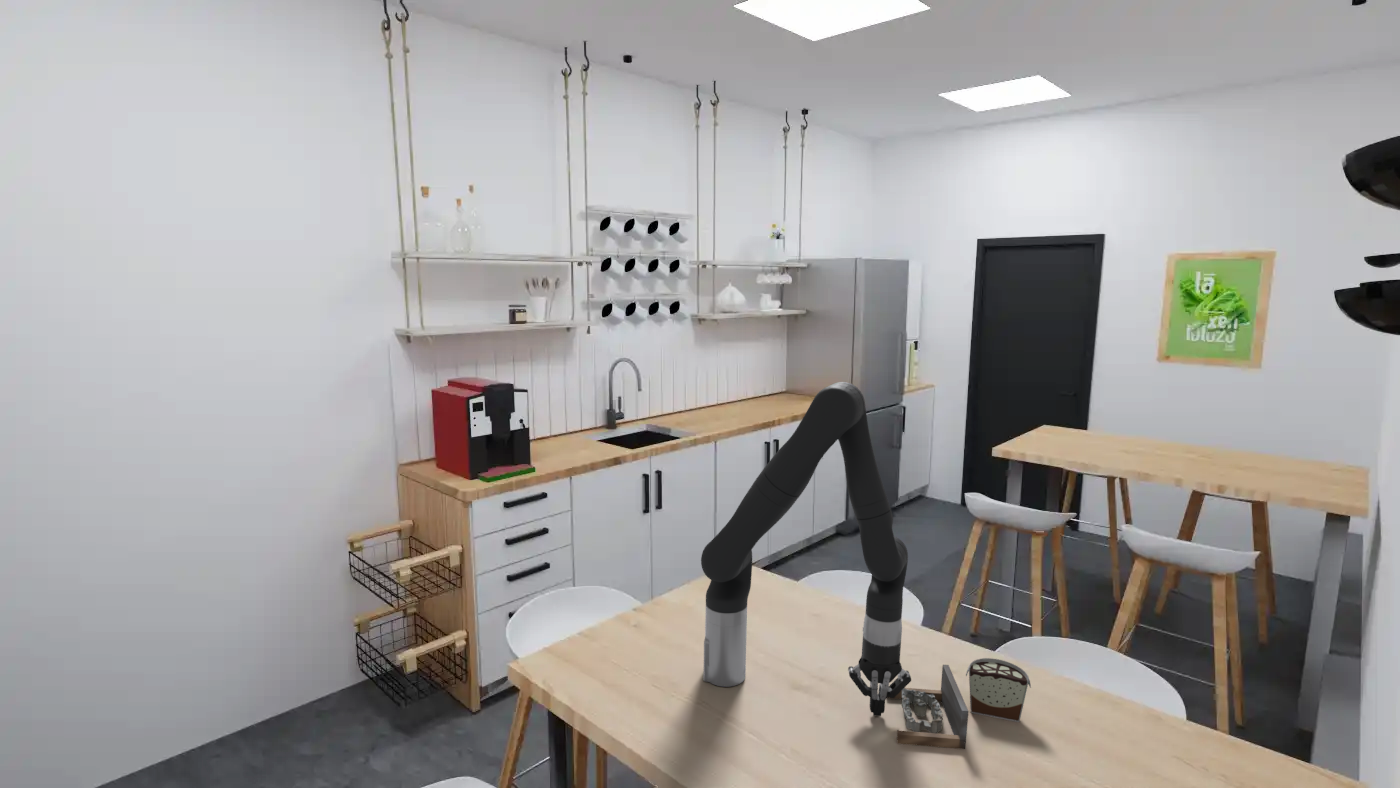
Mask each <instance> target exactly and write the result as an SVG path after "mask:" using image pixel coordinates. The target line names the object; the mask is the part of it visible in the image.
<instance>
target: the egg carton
mask: <svg viewBox="0 0 1400 788" xmlns="http://www.w3.org/2000/svg"><path fill="white" fill-rule="evenodd" d="M905 688H906V687H905ZM905 688H904V689H903V690H902V699H901V707H902V709H903V711H904V712H903V717H904V718H905V719H906V724H905V725H906V729H910V730H912V732H920V731H928V732H929V733H936V734H938V732H941V731H942V728H943V721H944V719H943V717H944V715H943V712H942V708H941V705H940V702H937V700H935V696H934V695H933V694H930V695H928V694H926V693H925V691H924V692H920V691H915V690H913V689H912V690H908V689H905ZM910 704H912V706H914V708H913V709H914V712H913V711H912V708H911V707H910V706H911V705H910ZM927 705H928V707H930V715H931V716H932V717H933V720H932V721H927V720H926V719H920V718H919V719H917V721H916V719H915V718H914V717H913V713H914V714H915V715H916V716H918V717H925V716H926V715H927Z"/></svg>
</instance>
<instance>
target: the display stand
mask: <svg viewBox="0 0 1400 788" xmlns="http://www.w3.org/2000/svg"><path fill="white" fill-rule="evenodd" d="M941 671H942V672H941V680H940V681H941V682H940V683H941V684H940V689H928V688H927V689H926V688H911V687H905V689H908V690H912V689H913V690H915V691H920V692H924V691H925V693H926V694H928V695H930V694H933V695H934V696H935V700H937V702H938V703H941V705H942V708H943V710H944V713H945V716H946V718H947V721H948V723H949V725H950V729H951V731H952V734H947V733H937V734H936V733H931V732H914V731H910V730H909V731H908V730H897V731H896V743H897V744H898V745H899V744H900V745H911V746H923V747H935V748H946V749H947V748H948V749H957V750H958V749H959V750H966V748H967V746H966V745H967V735H968V721H969V711H970V710H969V708H968V707H967V705H966V702H965V700H964V697H963V695H962V693H961V690H960V688H959V686H958V684H957V681H956V680H955V677H954V674H953V671H952V669H951V668H950V665H949V664H942V669H941ZM888 699H893V700H902V691H901V692H900V693H899V694H897V695H896V696H895V697H894V698H890V697H889V698H888Z"/></svg>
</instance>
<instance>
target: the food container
mask: <svg viewBox="0 0 1400 788" xmlns="http://www.w3.org/2000/svg"><path fill="white" fill-rule="evenodd" d="M967 676H969V677H968V678H969V679H968V681H969V704H970V706H969V709H970V710H969V711H970V713H971V714H975V715H981V716H987V717H991V718H995V719H996V718H997V719H1000V720H1005V721H1010V722H1016V723H1020V721H1021V717H1022V713H1023V709H1024V704H1025V699H1026V695H1027V689H1028V687H1029V689H1031V688H1032V687H1031V680H1030V678H1029V675H1028V673H1027V672H1026V671H1025V670H1024V669H1022V668H1021V667H1020V666H1018V665H1016V664H1014V663H1012V662H1010V661H1006V660H1003V659H998V658H993V657H991V658H990V657H983V658H977V659H975V660H972V662H971V663H970V664H969V665H968V667H967V669H966V673H965V677H967Z"/></svg>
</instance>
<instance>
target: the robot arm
mask: <svg viewBox="0 0 1400 788" xmlns="http://www.w3.org/2000/svg"><path fill="white" fill-rule="evenodd" d="M865 402H866V401H865V398H864V394H863V393H862V390H860V389H859V388H858V387H857V386H856V385H854V384H853V383H851V382H846V381H839V382H835V383H832V384H830V385H828V386H826V387H824V388H822V389H820V390H819V391H818V392H817V394H816V395H815V396H814V398H813V399H812V401H811V403H810V405H809V407H808V409H807V410H806V412H805V414H804V415H803V417H802V419H801V420H800V422H799V424H798V426H797V427H796V429H795V431H794V432H793V433H792V435H791V436H790V437H789V438H788V440H787V441H786V442H785V443H784V444H783V445H782V446H781V447H780V448H779V449H778V451H776V453H775V454H773V456H772V458H771V459H770V460H769V462H768V463H767V464H766V465H765V466H764V468H763V469H762V470H761V472H759V474H758V476H757V477H756V478H755V480H754V482H753V483H752V485H750V488H748V490H747V492H746V493H745V495H744V497H743V499H741V502H740V504H739V505H738V507H737V508H736V509H735V512H734V513H733V515H732V517H731V518H730V520H729V521H728V522H727V523H726V524H725V525H724V526H723V528H722V529H721V530H720V531H719V532H718V533H717V534H716V535H715V537H713V538H712V540H710V542H708V543H707V544H706V545H705V547H704V548H703V550H702V553H701V557H700V564H701V565H700V566H701V569H702V571H703V573H704V575H705V576H706V577H707V578H708V579H709V580H710V582H709V585H708V587H707V590H706V593H705V627H704V628H705V629H704V630H705V632H704V633H705V634H704V641H703V678H702V679H703V682H708V683H709V684H712V685H715V686H718V687H727V688H728V687H734V686H738V685H740V684H741V683H743V682H744V681H745V679H746V670H747V666H746V665H747V630H748V627H747V626H748V598H749V594H750V591H751V586H752V575H753V574H752V573H753V572H752V571H753V548H754V547H755V546H756V544H757V543H758V542H759V541H760V540H761V538H763V536H765V534H766V533H768V532H769V531H770V530H771V529H772V528H773V527H774V526H775V525H776V524H777V523H778V522H779V521H780V520H781V519H782V518H783V517H784V516H785V515H786V514H787V513H788V512H789V511H790V509H791V508H792V507H793V506H794V504H795V503H796V502H797V501H798V499H799V498H800V497H801V495H802V494H803V492H804V491H805V489H806V488H807V486H808V484H810V481H811V479H812V477H813V476H814V473H815V471H816V470H817V467H818V465H819V463H820V462H821V460H822V458H823V457H824V455H826V453H827V452H828V450H830V449H831V447H832V446H833V445H834V444H835V443H836V442H838V443H839V446H840V450H841V453H842V457H843V461H844V462H843V463H844V471H845V480H846V481H845V482H846V487H847V493H848V496H849V500H850V503H851V507H852V510H853V514H854V517H855V520H856V523H857V525H858V528H859V536H860V543H861V548H862V549H861V550H862V557H863V559H864V562H865V565H866V568H867V570H868V571H869V573H870V574H871V579H870V584H869V586H868V588H867V593H866V600H865V601H866V602H865V616H864V618H863V620H864V621H863V627H862V643H861V644H862V645H861V656H860V658H859V660H858V664H856V665H855V666H852V665H851V666H850V665H849V667H848V668H847V671H848V674H849V675H848V676H849V678H850V679H851V680H852V682H853V683H854V684H855V686H856V687H857V688H858V689H859V691H860V692H861V694H862V695H863V696H865V697H868V698H869V710H870V713H872V714H873V716H879V717H882V714H884V713H885V709H886V708H885V707H886V700H887V699H892V698H894V697H895V696H896V695H897V694H899V693H900V692H901V691H902V690H903V689H904V688H907V686H908V685H909V684H910V683H911V682H912V676H911V673H910V672H909V670H905V669H904V668H903V667H902V663H901V649H902V645H901V644H902V636H903V635H902V633H903V621H902V616H903V615H902V614H903V605H904V604H903V602H904V601H903V600H904V599H903V598H904V597H903V596H904V595H903V592H904V586H905V580H906V576H907V575H906V574H907V570H908V561H909V553H908V549H907V546H906V545H905V543H904V542H903V540H901V539H900V538H898V537H897V536H895V535H894V532H893V523H894V518H893V513H892V512H893V511H892V509H891V505H890V503H889V499H888V496H887V493H886V491H885V486H884V483H883V481H882V477H881V475H880V471H879V467H878V464H877V461H876V458H875V454H874V450H873V445H872V440H871V435H870V430H869V423H868V416H867V409H866V403H865ZM861 672H862V673H863V675H864V676H865V678H866V679H867V681H869V686H868V684H866V682H865V681H864V679H863V678H862V673H861ZM896 677H897V678H896ZM895 678H896V679H895ZM891 682H892V683H891ZM890 683H891V684H890ZM889 697H890V698H889Z"/></svg>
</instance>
